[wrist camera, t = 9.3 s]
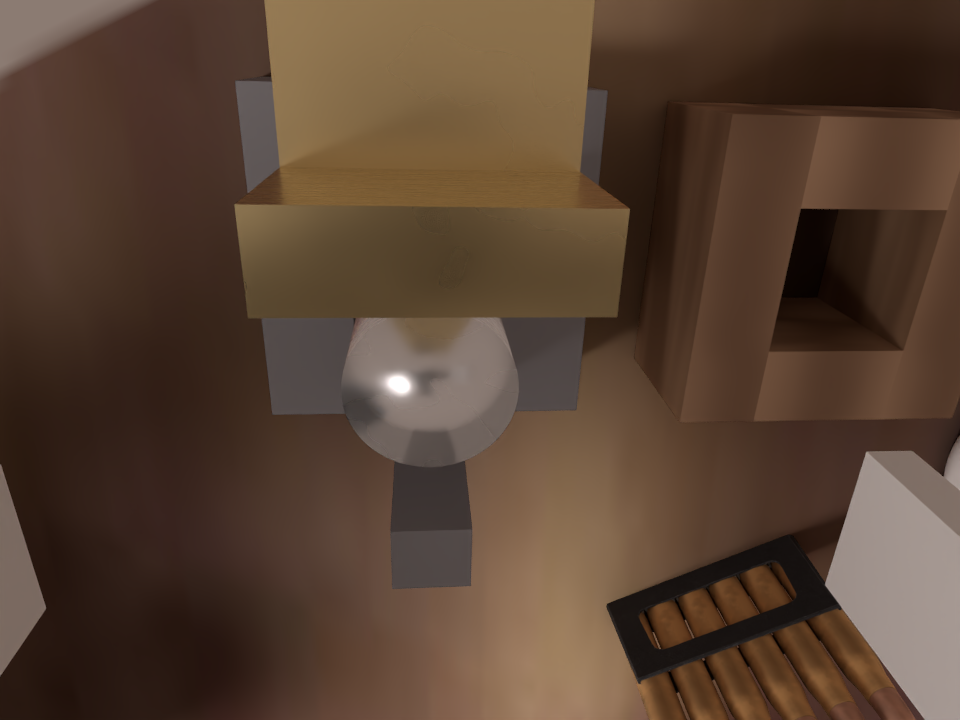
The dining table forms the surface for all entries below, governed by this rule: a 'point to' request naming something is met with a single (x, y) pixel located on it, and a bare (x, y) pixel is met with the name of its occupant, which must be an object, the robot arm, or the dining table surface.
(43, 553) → the dining table surface
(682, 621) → the ammunition clip
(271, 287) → the latch
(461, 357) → the peg
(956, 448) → the cup
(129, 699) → the dining table surface
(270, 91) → the socket block
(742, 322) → the frame
